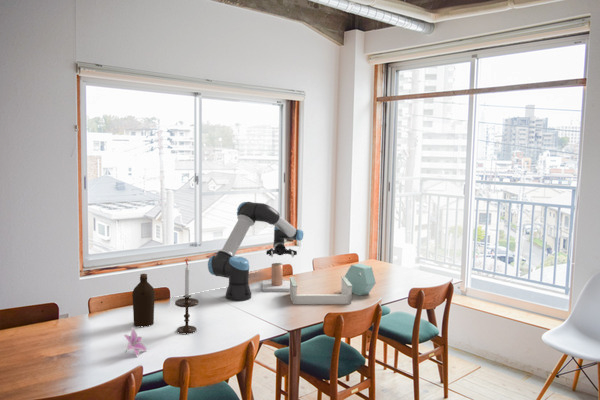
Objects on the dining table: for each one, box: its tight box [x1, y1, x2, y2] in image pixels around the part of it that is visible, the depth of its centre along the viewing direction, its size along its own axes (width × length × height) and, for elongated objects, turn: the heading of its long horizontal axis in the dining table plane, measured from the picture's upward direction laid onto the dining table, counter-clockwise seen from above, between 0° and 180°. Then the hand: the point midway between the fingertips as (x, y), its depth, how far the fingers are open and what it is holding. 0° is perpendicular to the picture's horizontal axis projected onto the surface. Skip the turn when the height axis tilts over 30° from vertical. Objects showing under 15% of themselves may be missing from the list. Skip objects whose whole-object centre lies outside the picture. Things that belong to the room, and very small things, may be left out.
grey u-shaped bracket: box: [289, 276, 353, 305], centre depth 293 cm, size 35×20×11 cm, turn 96°
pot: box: [270, 262, 284, 286], centre depth 313 cm, size 7×7×13 cm
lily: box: [123, 327, 148, 356], centre depth 209 cm, size 12×12×10 cm
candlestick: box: [174, 260, 199, 335], centre depth 234 cm, size 11×11×35 cm
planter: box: [344, 263, 376, 297], centre depth 307 cm, size 17×8×21 cm
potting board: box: [261, 280, 290, 293], centre depth 314 cm, size 18×18×2 cm
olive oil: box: [131, 273, 156, 328], centre depth 242 cm, size 11×11×25 cm
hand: (282, 255), depth 320 cm, fingers open, 13 cm apart
